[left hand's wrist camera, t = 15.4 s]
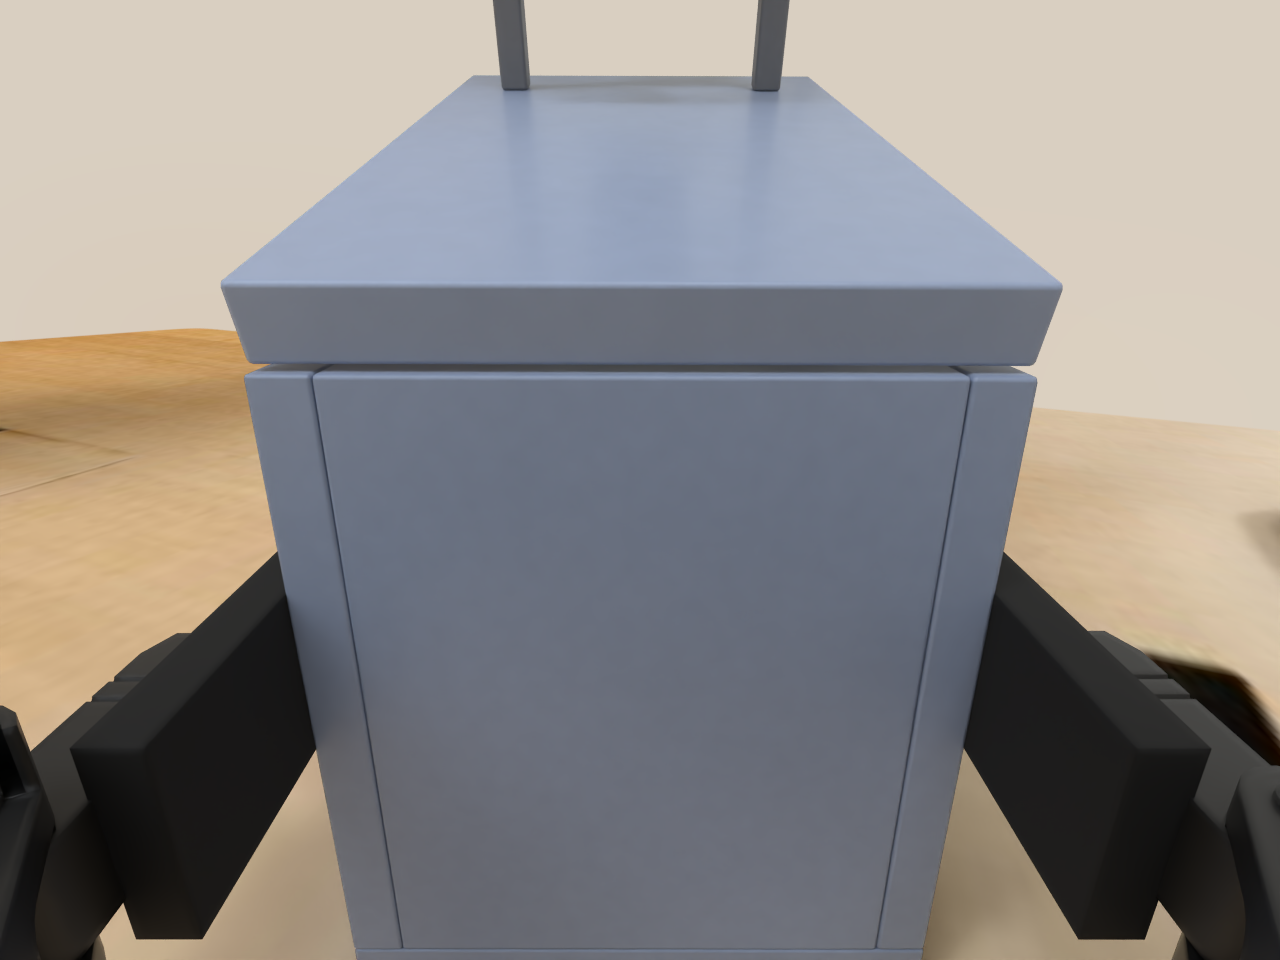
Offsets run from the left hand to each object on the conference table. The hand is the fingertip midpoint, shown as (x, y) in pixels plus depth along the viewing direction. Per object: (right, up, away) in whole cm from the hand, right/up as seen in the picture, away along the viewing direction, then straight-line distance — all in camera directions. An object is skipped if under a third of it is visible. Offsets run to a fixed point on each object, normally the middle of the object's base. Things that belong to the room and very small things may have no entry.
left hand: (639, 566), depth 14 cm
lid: (0, +8, +2) cm, 8 cm away
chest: (0, -5, +6) cm, 8 cm away
